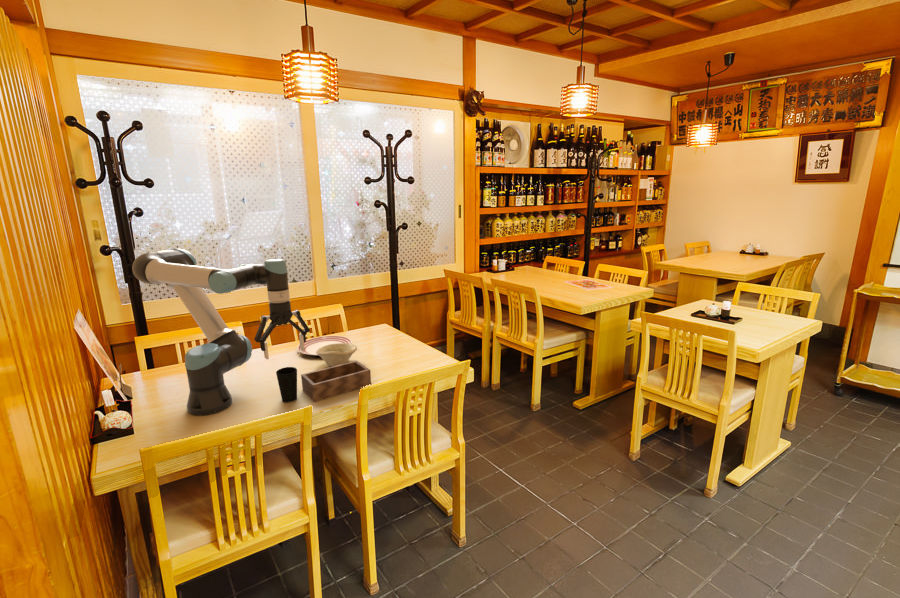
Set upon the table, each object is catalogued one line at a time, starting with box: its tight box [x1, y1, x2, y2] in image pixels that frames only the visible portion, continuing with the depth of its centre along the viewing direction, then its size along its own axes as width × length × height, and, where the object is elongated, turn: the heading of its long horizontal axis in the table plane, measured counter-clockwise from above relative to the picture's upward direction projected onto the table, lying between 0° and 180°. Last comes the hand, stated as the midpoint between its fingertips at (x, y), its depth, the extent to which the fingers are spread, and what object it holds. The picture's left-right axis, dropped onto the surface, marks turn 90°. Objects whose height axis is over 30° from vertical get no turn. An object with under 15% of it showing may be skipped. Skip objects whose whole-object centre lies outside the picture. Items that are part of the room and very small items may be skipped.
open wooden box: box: [300, 360, 372, 403], centre depth 184 cm, size 24×13×7 cm, turn 127°
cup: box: [275, 366, 298, 403], centre depth 174 cm, size 8×8×12 cm
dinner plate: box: [296, 335, 353, 357], centre depth 230 cm, size 28×27×3 cm
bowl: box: [316, 343, 358, 367], centre depth 210 cm, size 14×18×15 cm
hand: (285, 354), depth 172 cm, fingers open, 13 cm apart
